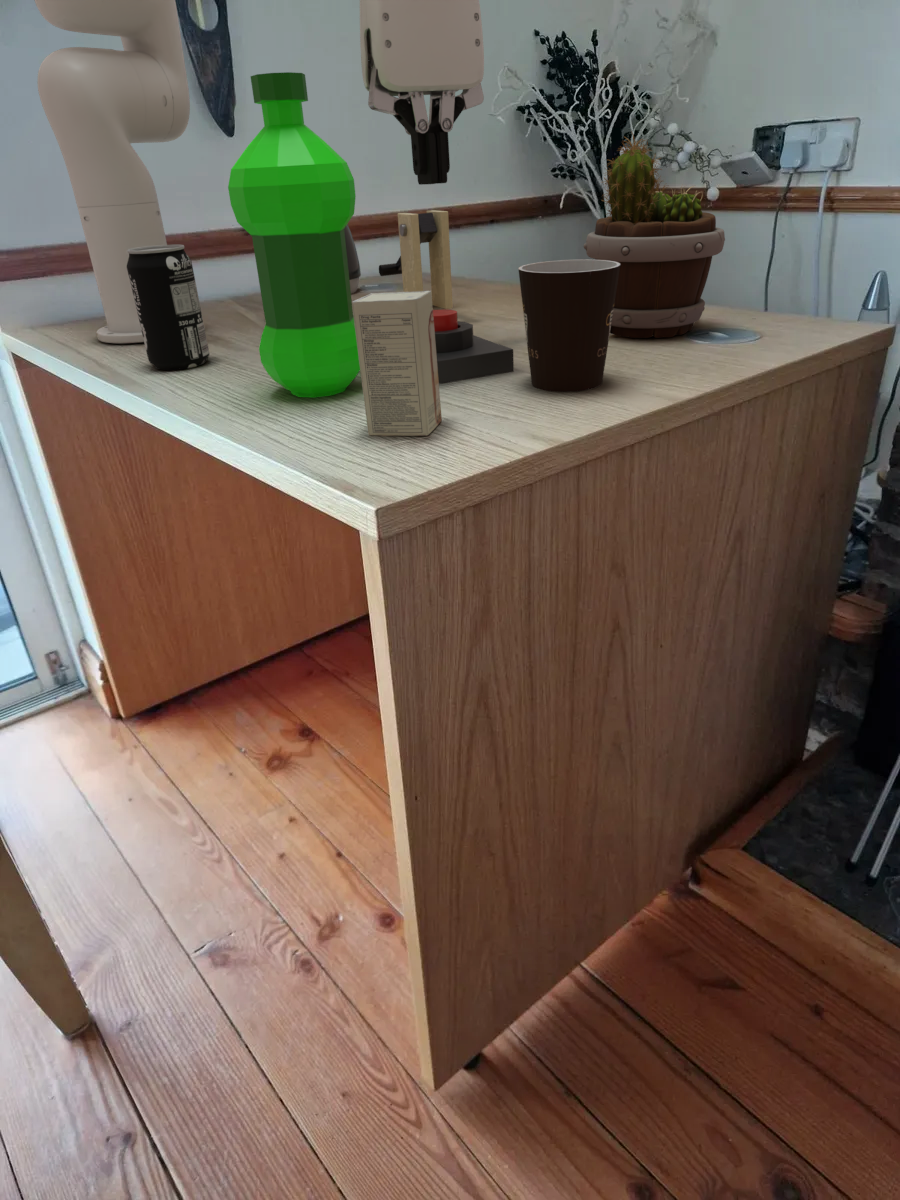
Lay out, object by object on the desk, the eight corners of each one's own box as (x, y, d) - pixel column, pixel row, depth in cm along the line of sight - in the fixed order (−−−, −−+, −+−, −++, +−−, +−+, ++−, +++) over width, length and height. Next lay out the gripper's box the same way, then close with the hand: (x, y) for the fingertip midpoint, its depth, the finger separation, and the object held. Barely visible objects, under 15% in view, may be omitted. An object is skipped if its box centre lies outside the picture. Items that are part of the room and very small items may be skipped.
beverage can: (147, 362, 90) (120, 248, 84) (206, 355, 92) (184, 242, 86) (153, 374, 85) (124, 252, 79) (215, 365, 87) (192, 246, 81)
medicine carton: (443, 421, 64) (435, 289, 59) (428, 438, 61) (419, 299, 56) (382, 419, 66) (370, 290, 61) (364, 436, 62) (349, 300, 57)
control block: (375, 364, 84) (371, 324, 82) (460, 350, 87) (458, 312, 85) (419, 388, 74) (416, 343, 72) (513, 372, 77) (513, 329, 76)
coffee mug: (591, 400, 67) (596, 273, 62) (502, 390, 72) (500, 271, 67) (640, 369, 76) (647, 255, 71) (558, 362, 80) (559, 255, 75)
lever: (381, 281, 110) (376, 264, 109) (417, 277, 111) (413, 260, 111) (409, 233, 97) (403, 214, 97) (449, 230, 99) (444, 211, 99)
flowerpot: (666, 313, 100) (681, 128, 90) (742, 334, 87) (769, 121, 77) (561, 326, 96) (564, 135, 86) (624, 350, 83) (636, 128, 73)
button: (416, 330, 80) (414, 312, 79) (448, 326, 81) (447, 308, 80) (430, 336, 77) (429, 317, 76) (464, 331, 78) (463, 312, 77)
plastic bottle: (385, 396, 72) (354, 66, 60) (268, 411, 70) (211, 70, 57) (363, 372, 80) (333, 79, 68) (258, 385, 78) (208, 83, 66)
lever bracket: (387, 318, 107) (378, 213, 101) (441, 311, 110) (435, 208, 104) (416, 329, 99) (408, 216, 93) (473, 321, 102) (469, 211, 96)
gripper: (476, -56, 70) (485, 178, 79) (314, -62, 65) (342, 190, 74) (518, -80, 64) (523, 177, 73) (343, -88, 59) (371, 189, 68)
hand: (432, 183), depth 73 cm, fingers closed
